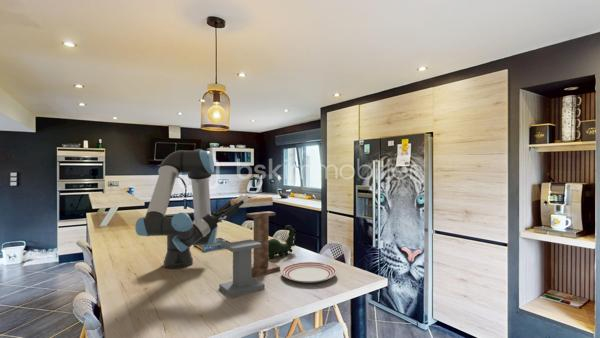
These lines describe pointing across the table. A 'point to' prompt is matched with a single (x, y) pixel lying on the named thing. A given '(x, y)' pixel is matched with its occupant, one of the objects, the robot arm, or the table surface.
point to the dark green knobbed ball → (280, 248)
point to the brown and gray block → (255, 201)
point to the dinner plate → (308, 272)
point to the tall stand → (261, 236)
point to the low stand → (241, 269)
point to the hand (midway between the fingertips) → (245, 197)
